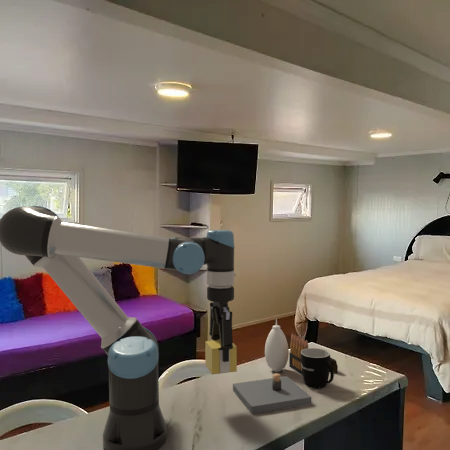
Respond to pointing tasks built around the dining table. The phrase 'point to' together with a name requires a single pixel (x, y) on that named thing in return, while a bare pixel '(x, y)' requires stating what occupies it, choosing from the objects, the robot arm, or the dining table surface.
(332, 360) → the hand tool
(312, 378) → the mug
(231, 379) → the dining table surface
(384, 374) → the dining table surface
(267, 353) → the air blower bulb
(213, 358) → the mustard yellow cube
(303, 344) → the ammunition clip
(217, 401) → the dining table surface
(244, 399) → the board
